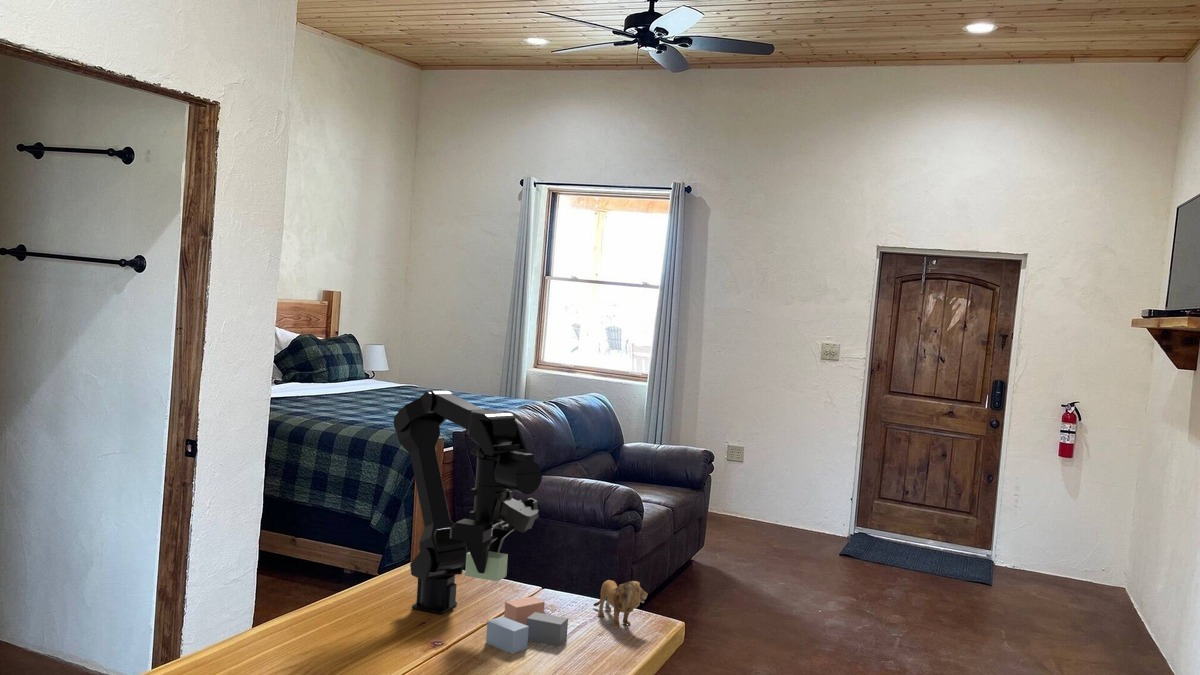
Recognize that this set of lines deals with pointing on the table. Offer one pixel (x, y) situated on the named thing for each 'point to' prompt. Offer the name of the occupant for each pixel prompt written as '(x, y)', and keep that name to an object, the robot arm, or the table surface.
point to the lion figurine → (620, 599)
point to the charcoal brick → (547, 629)
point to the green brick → (488, 567)
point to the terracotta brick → (523, 609)
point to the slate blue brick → (507, 634)
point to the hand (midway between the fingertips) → (486, 570)
